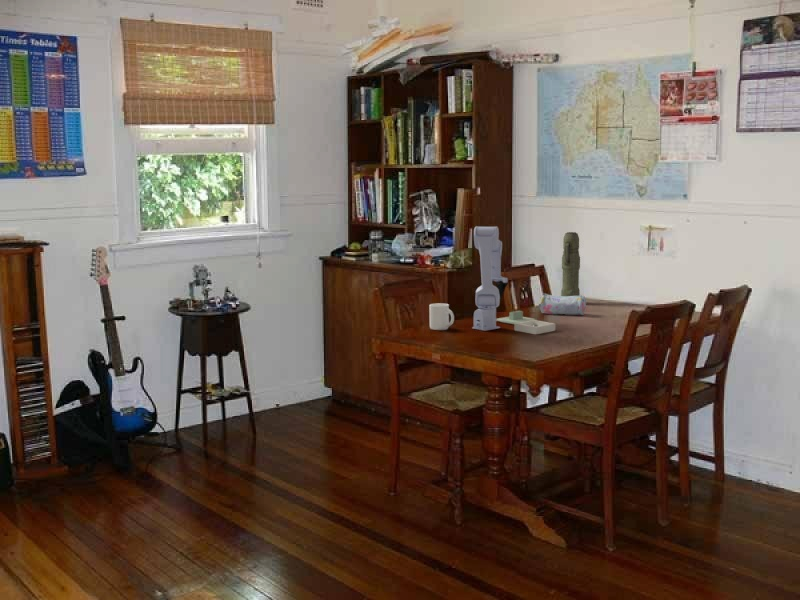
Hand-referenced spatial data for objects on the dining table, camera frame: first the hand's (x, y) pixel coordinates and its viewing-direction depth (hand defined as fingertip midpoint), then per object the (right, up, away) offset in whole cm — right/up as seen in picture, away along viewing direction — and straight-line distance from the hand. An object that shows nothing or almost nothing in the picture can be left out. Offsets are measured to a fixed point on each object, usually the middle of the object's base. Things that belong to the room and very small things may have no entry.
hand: (494, 297), depth 415 cm
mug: (-24, -14, -18) cm, 33 cm away
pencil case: (+33, -8, +15) cm, 37 cm away
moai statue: (+42, -3, +45) cm, 61 cm away
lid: (+9, -10, -4) cm, 14 cm away
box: (+15, -14, -24) cm, 31 cm away
